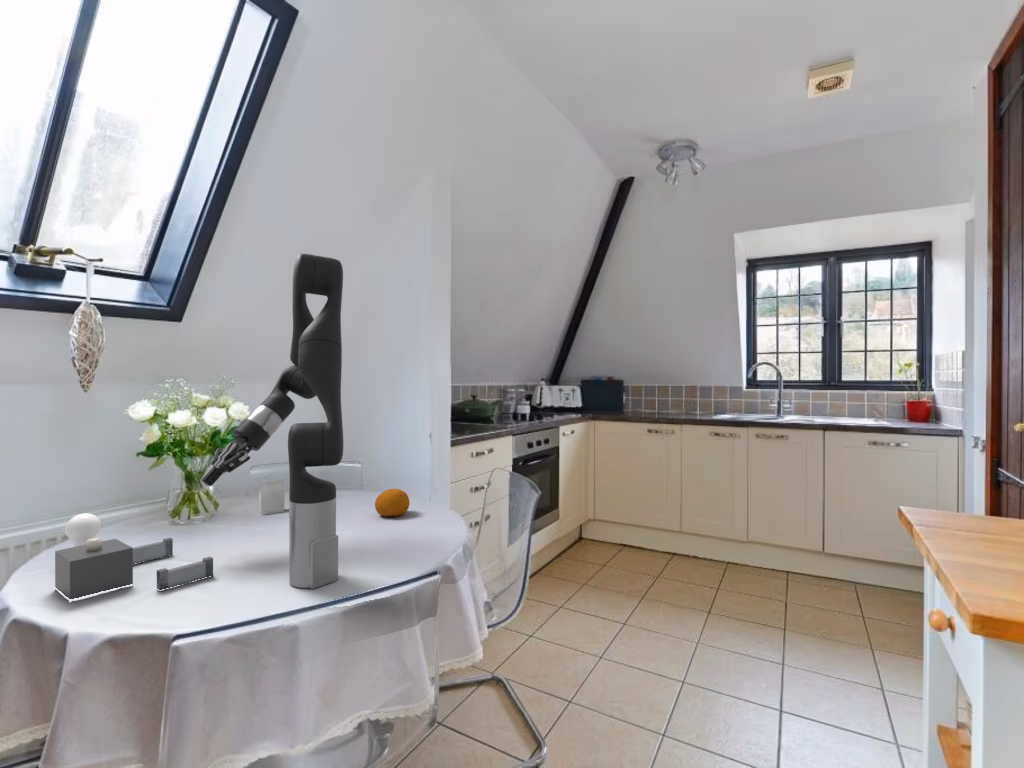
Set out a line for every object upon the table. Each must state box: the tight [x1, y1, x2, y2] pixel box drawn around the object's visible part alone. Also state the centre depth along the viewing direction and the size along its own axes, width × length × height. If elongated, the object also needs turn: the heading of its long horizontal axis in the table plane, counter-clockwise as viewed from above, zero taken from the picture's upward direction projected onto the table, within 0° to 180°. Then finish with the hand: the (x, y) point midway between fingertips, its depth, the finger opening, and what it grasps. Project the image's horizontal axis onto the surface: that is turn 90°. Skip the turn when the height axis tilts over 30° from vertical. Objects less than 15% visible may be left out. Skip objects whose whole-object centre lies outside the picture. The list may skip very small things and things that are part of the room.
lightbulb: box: [64, 512, 102, 547], centre depth 119 cm, size 6×6×11 cm
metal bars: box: [132, 537, 214, 590], centre depth 113 cm, size 23×10×4 cm, turn 53°
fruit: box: [374, 488, 410, 517], centre depth 160 cm, size 10×10×8 cm
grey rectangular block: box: [258, 479, 285, 516], centre depth 163 cm, size 4×7×10 cm, turn 127°
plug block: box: [54, 537, 134, 599], centre depth 104 cm, size 10×10×10 cm
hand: (205, 483), depth 119 cm, fingers closed
